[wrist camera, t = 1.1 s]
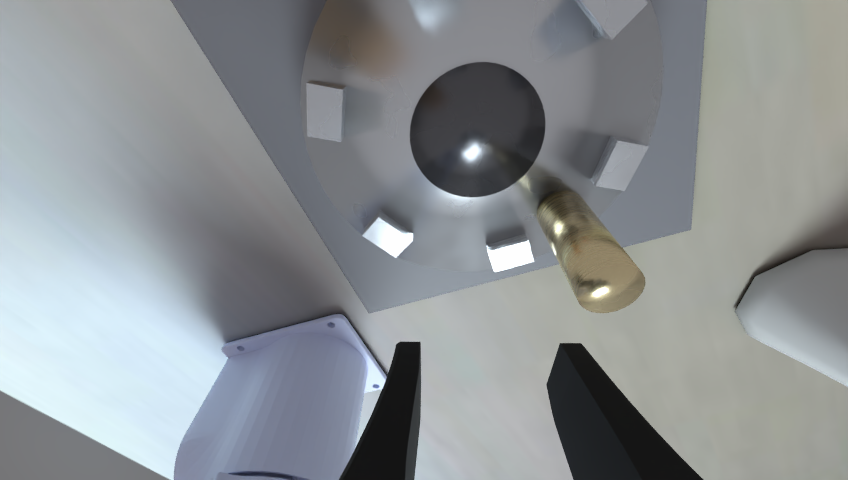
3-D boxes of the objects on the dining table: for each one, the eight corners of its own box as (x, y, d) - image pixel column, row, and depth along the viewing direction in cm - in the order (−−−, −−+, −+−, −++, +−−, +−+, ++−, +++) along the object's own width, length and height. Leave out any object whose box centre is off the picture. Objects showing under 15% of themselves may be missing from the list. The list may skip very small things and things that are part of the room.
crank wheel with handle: (258, 141, 15) (159, 219, 10) (467, -221, 9) (521, -549, 4) (473, 288, 20) (491, 399, 14) (701, 103, 14) (882, 166, 8)
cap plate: (371, 301, 22) (368, 314, 21) (163, -38, 13) (143, -41, 12) (679, 219, 18) (692, 230, 18) (704, -339, 9) (735, -378, 8)
